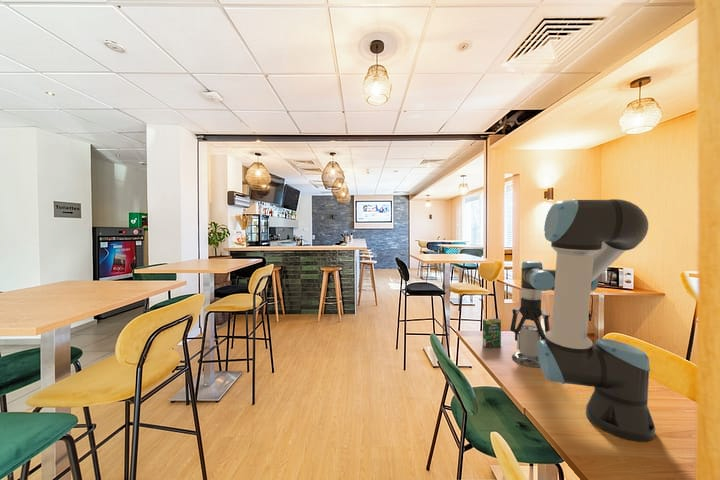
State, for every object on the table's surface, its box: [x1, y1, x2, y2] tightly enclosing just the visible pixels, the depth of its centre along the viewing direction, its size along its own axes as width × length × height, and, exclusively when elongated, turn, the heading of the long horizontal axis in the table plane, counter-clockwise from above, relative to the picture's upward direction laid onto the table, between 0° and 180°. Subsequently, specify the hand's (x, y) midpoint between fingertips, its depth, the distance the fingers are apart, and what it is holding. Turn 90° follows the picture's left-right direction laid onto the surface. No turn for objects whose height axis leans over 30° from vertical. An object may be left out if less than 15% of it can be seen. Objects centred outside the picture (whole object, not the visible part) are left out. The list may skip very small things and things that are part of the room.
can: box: [518, 324, 540, 358], centre depth 127 cm, size 8×8×12 cm
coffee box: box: [482, 318, 502, 349], centre depth 142 cm, size 8×3×13 cm, turn 98°
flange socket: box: [511, 351, 541, 369], centre depth 128 cm, size 13×13×2 cm
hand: (529, 351), depth 128 cm, fingers closed on can, 7 cm apart
